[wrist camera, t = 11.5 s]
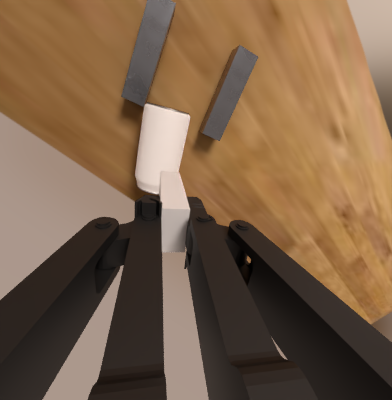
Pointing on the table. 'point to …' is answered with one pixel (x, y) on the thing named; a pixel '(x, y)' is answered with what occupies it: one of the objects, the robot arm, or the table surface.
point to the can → (159, 145)
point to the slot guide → (149, 59)
